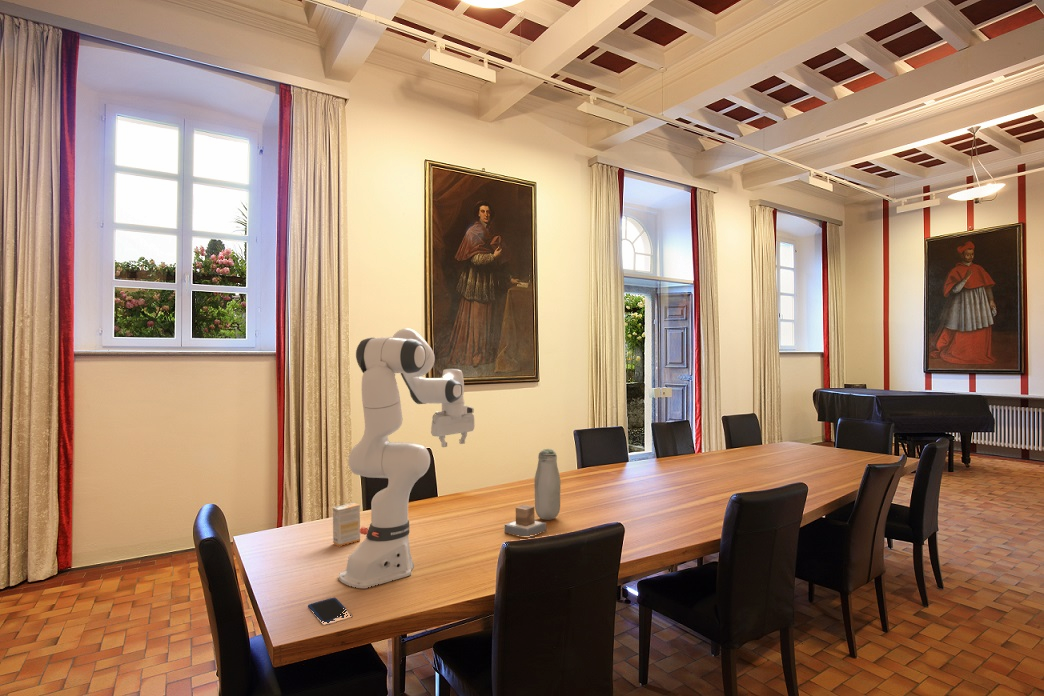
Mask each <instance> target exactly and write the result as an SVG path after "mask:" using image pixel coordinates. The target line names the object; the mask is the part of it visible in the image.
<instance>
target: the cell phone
mask: <svg viewBox="0 0 1044 696" xmlns="http://www.w3.org/2000/svg"><path fill="white" fill-rule="evenodd" d="M307 607H308V609H309V608H310V609H311V610H312V611H313V612H314V614H315V615H316V616H317V617H318V618H319V619H320V620H321V622H322V621H324V622H327V623H329V622H330V621H335V620H336V619H337V618H340V616H342V617H341V618H344V615H345V614H343V613H345V612H346V611H347V610H348V609H347V608H346V606H345V605H343V603H342V602H340V600H338V598H336V597H330V598H326V599H323V600H319V601H315V602H312V603H309V604H308V605H307ZM343 608H344V609H343ZM310 609H309V610H310ZM345 609H347V610H345ZM311 610H310V611H311ZM344 610H345V611H344ZM312 611H311V612H312ZM343 611H344V612H343ZM313 612H312V613H313ZM342 612H343V613H342ZM314 614H313V615H314ZM340 614H341V615H340ZM346 614H347V613H346ZM315 615H314V616H315ZM316 616H315V617H316ZM337 616H338V617H337ZM347 616H348V615H347ZM347 616H346V617H347ZM350 616H351V615H350ZM317 617H316V618H317ZM335 618H336V619H335ZM321 622H320V623H321ZM324 622H323V623H324Z"/></svg>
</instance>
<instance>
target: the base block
mask: <svg viewBox="0 0 1044 696" xmlns="http://www.w3.org/2000/svg"><path fill="white" fill-rule="evenodd" d="M543 531H545V532H547V522H543V521H540V520H539V521H538V520H535V523H533V524H531V525H528V526H523V525H519V524H516V520H513V521H510V522H508V523H505V524H504V533H505V532H506V533H505V534H507V533H510V534H509V535H511V534H514V535H513V536H515V535H519V536H530V535H535V534H538V533H540V532H543ZM543 533H544V532H543ZM540 534H541V533H540ZM538 535H539V534H538ZM519 536H518V537H519ZM532 537H534V536H530V537H524V539H526V538H528V539H530V538H532Z"/></svg>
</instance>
